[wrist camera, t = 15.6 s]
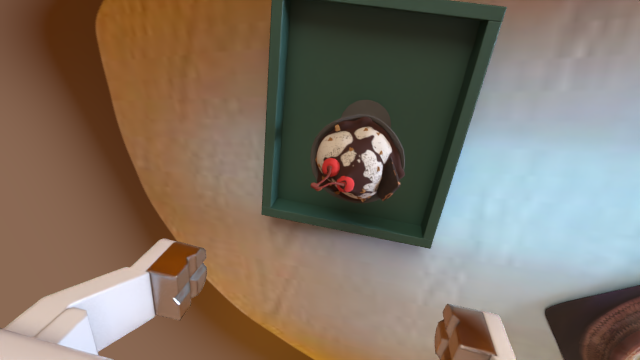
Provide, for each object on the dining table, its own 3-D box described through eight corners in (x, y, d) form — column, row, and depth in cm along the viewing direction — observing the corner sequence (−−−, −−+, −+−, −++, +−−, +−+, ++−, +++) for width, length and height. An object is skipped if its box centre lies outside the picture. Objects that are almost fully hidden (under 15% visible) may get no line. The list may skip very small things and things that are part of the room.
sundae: (318, 111, 33) (270, 168, 19) (380, 77, 30) (375, 114, 17) (350, 167, 35) (326, 255, 21) (411, 139, 32) (428, 217, 19)
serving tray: (283, -16, 30) (272, -21, 27) (494, 9, 27) (507, 6, 24) (270, 200, 39) (261, 214, 36) (426, 231, 37) (430, 248, 34)
